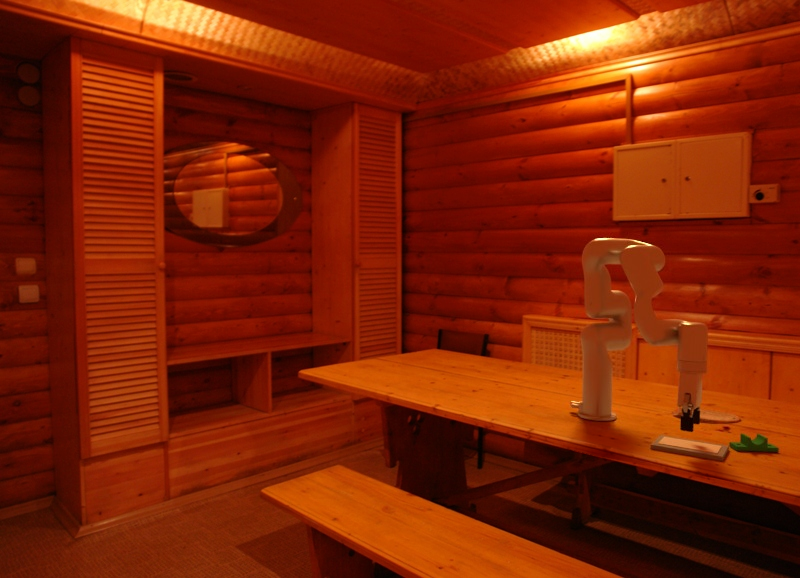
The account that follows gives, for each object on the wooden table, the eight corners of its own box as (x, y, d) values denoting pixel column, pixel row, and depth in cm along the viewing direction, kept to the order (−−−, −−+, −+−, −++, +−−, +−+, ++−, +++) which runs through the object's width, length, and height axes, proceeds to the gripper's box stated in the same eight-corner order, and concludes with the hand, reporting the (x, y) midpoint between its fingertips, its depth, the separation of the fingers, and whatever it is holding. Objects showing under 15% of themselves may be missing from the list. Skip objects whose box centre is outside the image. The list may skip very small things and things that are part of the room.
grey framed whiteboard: (650, 448, 170) (650, 443, 170) (660, 438, 180) (660, 434, 180) (722, 461, 160) (722, 455, 159) (728, 450, 169) (728, 445, 169)
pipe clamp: (770, 434, 172) (779, 438, 167) (770, 447, 172) (778, 452, 167) (729, 432, 173) (737, 437, 168) (729, 445, 173) (736, 450, 168)
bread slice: (747, 424, 198) (748, 413, 198) (711, 431, 190) (711, 419, 190) (699, 412, 214) (699, 402, 214) (663, 418, 206) (663, 407, 206)
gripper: (683, 361, 178) (681, 418, 179) (670, 369, 164) (669, 431, 164) (711, 363, 174) (710, 422, 174) (701, 372, 159) (699, 436, 160)
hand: (690, 427), depth 169 cm, fingers open, 9 cm apart
